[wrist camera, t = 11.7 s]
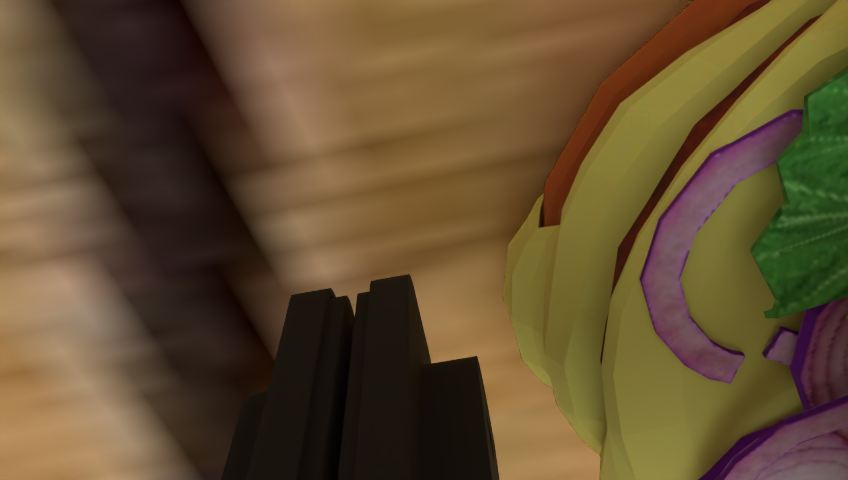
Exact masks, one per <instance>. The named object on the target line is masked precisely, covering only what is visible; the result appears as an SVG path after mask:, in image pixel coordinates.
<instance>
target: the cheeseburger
mask: <svg viewBox="0 0 848 480" xmlns="http://www.w3.org/2000/svg"><path fill="white" fill-rule="evenodd" d="M503 300H504V302H505V305H506V308H507V310H508V313H509V315H510V318H511V320H512V323H513V326H514V330H515V334H516V338H517V342H518V346H519V350H520V354H521V358H522V360H523V361H524V362H525V363H526V364H527V366H528V367H529V368H530V369H531V370H532V371H533V373H534V374H535V375H536V376H537V377H538V379H539V380H540V381H541V382H543V383H545V384H546V385H548V386H550V387H552V388H553V391H554V395H555V399H556V403H557V406H558V407H559V409H560V410H561V411H562V413H563V414H564V416H565V417H566V419H567V420H568V421H569V423H570V424H571V426H572V427H573V429H574V430H575V431H576V433H577V434H578V436H579V437H580V439H581V440H582V441H583V442H584V443H586V444H587V445H588V446H589V447H590V448H592V449H593V450H594V451H595V452H597V453H598V454H599V455H600V457H601V460H600V480H848V0H694V1H693V2H692V3H691V4H690V5H688V6H687V7H686V8H685V9H684V10H683V11H682V12H681V13H680V14H678V15H677V16H676V17H675V18H674V19H673V20H672V21H671V22H670V23H668V24H667V25H666V26H665V27H664V28H663V29H662V30H661V31H660V32H658V33H657V34H656V35H655V36H654V37H653V38H652V39H651V40H649V41H648V42H647V43H646V44H645V45H644V46H643V47H642V48H641V49H639V50H638V51H637V52H636V53H635V54H634V55H633V56H632V57H631V58H629V59H628V60H627V61H626V62H625V63H624V64H623V65H622V66H620V67H619V68H618V69H617V70H616V71H615V72H614V73H613V74H612V75H610V76H609V77H608V78H607V79H606V80H605V81H604V82H603V83H602V84H601V85H600V86H599V88H598V90H597V92H596V94H595V95H594V97H593V99H592V101H591V102H590V104H589V106H588V108H587V109H586V111H585V113H584V115H583V117H582V118H581V120H580V122H579V124H578V125H577V127H576V129H575V131H574V132H573V134H572V136H571V138H570V140H569V141H568V143H567V145H566V147H565V148H564V150H563V152H562V154H561V155H560V157H559V159H558V161H557V162H556V164H555V166H554V168H553V170H552V171H551V173H550V175H549V177H548V178H547V180H546V182H545V186H544V193H543V194H542V195H541V196H540V197H539V198H538V199H537V200H536V202H535V204H534V206H533V208H532V210H531V212H530V214H529V216H528V218H527V219H526V220H525V222H524V223H523V225H522V226H521V228H520V229H519V230H518V232H517V233H516V235H515V236H514V238H513V239H512V240H511V242H510V243H509V245H508V250H507V260H506V270H505V280H504V290H503Z"/></svg>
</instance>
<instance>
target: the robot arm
mask: <svg viewBox="0 0 848 480" xmlns="http://www.w3.org/2000/svg"><path fill="white" fill-rule="evenodd" d="M221 480H499V473H498V466H497V459H496V452H495V445H494V439H493V433H492V427H491V422H490V416H489V410H488V405H487V400H486V395H485V390H484V385H483V380H482V375H481V370H480V365H479V361H478V358H477V356H474V357H469V358H463V359H457V360H451V361H445V362H439V363H433V364H431V359H430V355H429V351H428V346H427V342H426V338H425V334H424V329H423V325H422V321H421V316H420V312H419V308H418V303H417V299H416V295H415V291H414V286H413V283H412V279H411V276H410V275H409V274H408V275H402V276H396V277H391V278H385V279H379V280H374V281H371V283H370V292H364V293H359V294H358V295H357V302H356V312H355V316H354V313H353V309H352V306H351V303H350V300H349V298H348V296H341V297H336V296H335V294H334V292H333V290H332V289H331V288H328V289H323V290H317V291H311V292H306V293H300V294H294V295H292V296H291V298H290V302H289V306H288V310H287V314H286V318H285V322H284V327H283V331H282V335H281V339H280V343H279V347H278V351H277V355H276V359H275V363H274V367H273V372H272V376H271V380H270V384H269V388H268V391H266V392H260V393H254V394H250V395H248V396H247V397H246V398H245V400H244V402H243V405H242V408H241V411H240V415H239V419H238V422H237V426H236V429H235V433H234V436H233V440H232V443H231V447H230V450H229V454H228V458H227V461H226V465H225V468H224V472H223V475H222V479H221Z"/></svg>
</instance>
